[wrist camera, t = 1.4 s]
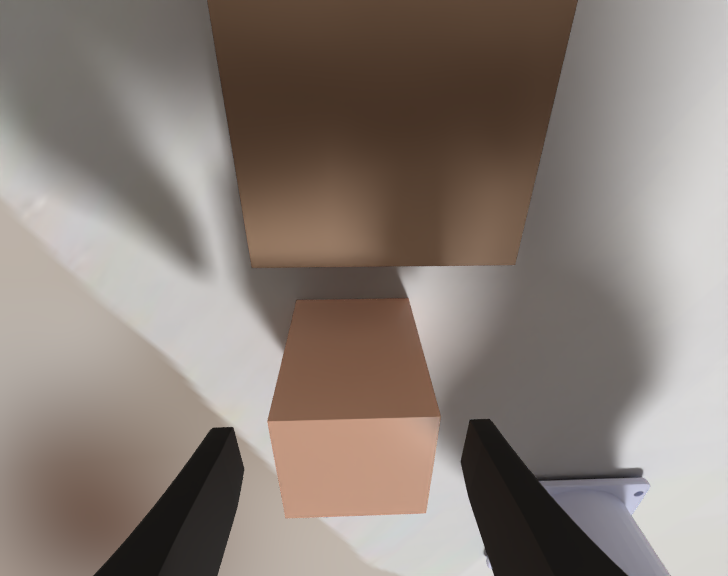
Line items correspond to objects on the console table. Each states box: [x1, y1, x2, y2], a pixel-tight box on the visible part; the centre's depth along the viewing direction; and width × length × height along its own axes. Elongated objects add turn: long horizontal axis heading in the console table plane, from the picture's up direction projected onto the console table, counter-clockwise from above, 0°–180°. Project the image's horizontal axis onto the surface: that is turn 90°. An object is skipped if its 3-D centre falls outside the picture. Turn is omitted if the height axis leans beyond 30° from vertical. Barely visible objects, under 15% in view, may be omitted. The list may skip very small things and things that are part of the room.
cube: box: [267, 298, 441, 518], centre depth 13 cm, size 4×4×6 cm
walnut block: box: [207, 0, 578, 268], centre depth 10 cm, size 8×8×3 cm
